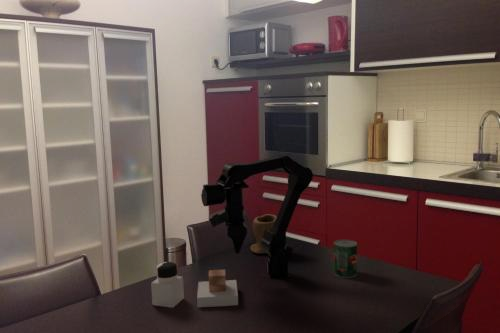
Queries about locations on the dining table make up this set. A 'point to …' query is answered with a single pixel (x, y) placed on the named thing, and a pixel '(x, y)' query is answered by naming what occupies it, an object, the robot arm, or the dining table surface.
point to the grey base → (217, 295)
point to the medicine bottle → (167, 286)
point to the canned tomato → (345, 258)
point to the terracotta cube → (217, 281)
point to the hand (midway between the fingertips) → (236, 248)
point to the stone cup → (262, 230)
